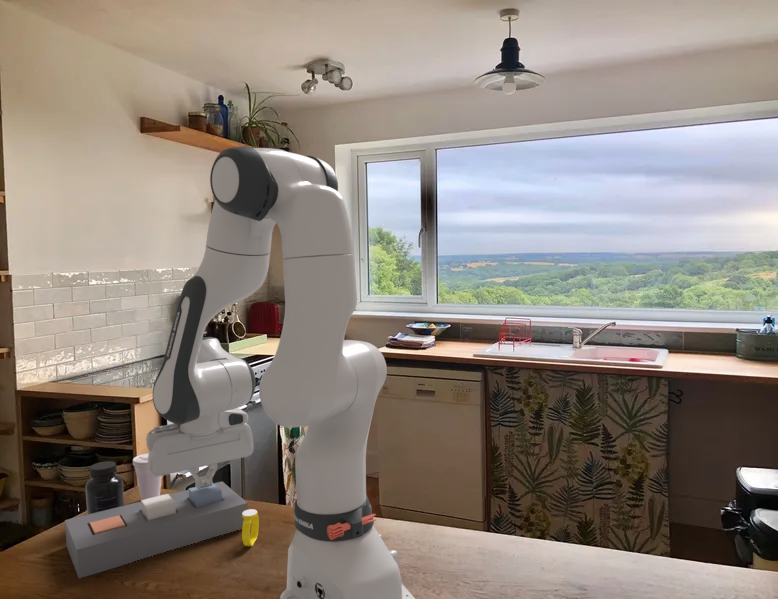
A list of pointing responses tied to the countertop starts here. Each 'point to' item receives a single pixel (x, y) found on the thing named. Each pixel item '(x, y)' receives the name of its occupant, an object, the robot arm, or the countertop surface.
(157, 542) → the key panel
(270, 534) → the countertop surface
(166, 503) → the white key
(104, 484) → the supplement bottle
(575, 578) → the countertop surface
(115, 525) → the terracotta key
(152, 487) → the smoothie
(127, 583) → the countertop surface
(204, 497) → the slate blue key
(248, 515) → the watch
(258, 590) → the countertop surface
